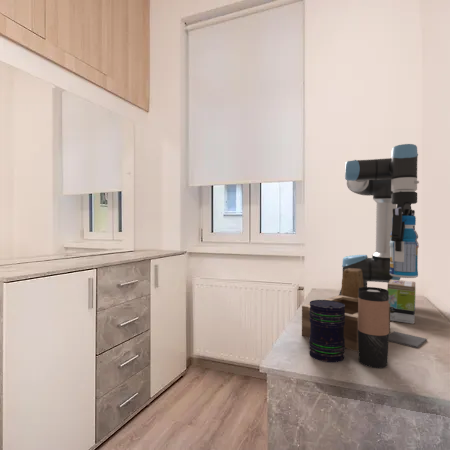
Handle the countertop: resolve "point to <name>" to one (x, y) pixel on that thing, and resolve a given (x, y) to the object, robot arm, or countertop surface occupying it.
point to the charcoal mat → (406, 339)
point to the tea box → (402, 300)
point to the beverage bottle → (406, 252)
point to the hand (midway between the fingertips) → (403, 260)
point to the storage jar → (327, 330)
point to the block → (351, 282)
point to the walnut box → (350, 320)
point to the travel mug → (373, 326)
